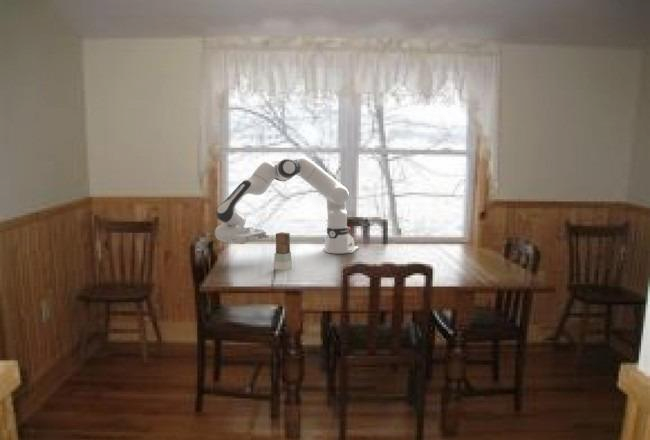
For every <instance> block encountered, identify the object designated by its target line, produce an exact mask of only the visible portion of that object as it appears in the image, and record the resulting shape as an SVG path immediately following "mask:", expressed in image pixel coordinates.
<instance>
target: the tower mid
mask: <svg viewBox="0 0 650 440" xmlns="http://www.w3.org/2000/svg"><path fill="white" fill-rule="evenodd" d="M290 260H292V252H291V251H290V253H287V254H276V252H275V253H274V262H275V261H276V262H284V263H285V262H288V261H290Z"/></svg>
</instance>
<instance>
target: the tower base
mask: <svg viewBox="0 0 650 440" xmlns="http://www.w3.org/2000/svg"><path fill="white" fill-rule="evenodd" d="M292 261H293V260H292V259H291V260H290V261H288V262H285V263H284V262H276V261H275V260H274V269H275V270H280V271H287V270H289V269H292Z"/></svg>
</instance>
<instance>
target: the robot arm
mask: <svg viewBox="0 0 650 440" xmlns="http://www.w3.org/2000/svg"><path fill="white" fill-rule="evenodd" d="M295 176H297V177H300V178H302V180H303V181H305V182H306V183H308V184H309V185H310V186H311V187H313V188H314V189H315V190H316V191H317V192H319V193H320V194H321V195H323V196H324V197H325V198H326V208H327V209H326V210H327V226H326V227H327V228H326V234H327V235H325V238H324V239H325V240H324V241H325V242H324V247H323V249H322V250H323V251H325V253H328V254H352V253H354V252H355V251H356V250H358V249H359V246H357V245H355V239H354V238H353V236H352V235H351V234H350V233H349V231H351V227H350V226H348V212H347V204H346V202H347V201H348V199H349V191H348V189H347V188H346V186H344V185H342V183H340V182H339V181H338V180H336V178H334V177H332V175H330V174H329V173H327V172H326V171H325V170H324V169H323V168H321V167H320V166H318V164H316V163H315V162H313V161H312V160H310V159H309V158H307V157H305V156H299V157H298V158H296V159H293V158H284V159H282V160H280V161H279V162H277V164H273V163H272V162H270V161H264V162H262V163H261V164H260V165H259V166H258V167H257V168H256V169H255V170H254V172H253V173H252V174H251V176H250V177H249V179H245V180H243V181H242V182H241V183H239V184H238V186H237V187H236V188H235V189H234V190H233V191H232V192H231V193H230V194H229V196H228V197H227V198H226V199H225V200H224V201H223V202H222V203H220V204H219V205H218V207H216V208H217V209H216V218H217V219H218V220H219V221H221V222H222V223H221V225H219V226H216V228H215V230H214V235H215V237H216V239H217V240H218V241H220V242H223V243H233V244H238V245H245V244H246V243H250V242H258V240H262V239H269V237H270V236H269V234H268V233H267V232H266V230H264V229H257V228H254V227H245V225H246V222H247V221H246V216H245V215H244V214H243V213H242V212H241V211H239V210H238V209H237V208H236V205H238V203H239V202H240V201H241V200H242V199H243V198H244V197H245V196H246V195H247V194H249V195H250V194H251V195H254V196H260V195H263V194H265V193H266V192H267V190H268V189H269V188H270V186H271V184H272V183H273V181H274V180H276V181H279V182H287V181H289V180H291V179H292V178H293V177H295Z"/></svg>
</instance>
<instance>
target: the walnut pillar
mask: <svg viewBox="0 0 650 440" xmlns="http://www.w3.org/2000/svg"><path fill="white" fill-rule="evenodd" d="M290 235H291V233H290V232H283V231H281V232H277V233H275V253H276V254H287V253H290V252H291V238H290V237H291V236H290Z"/></svg>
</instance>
